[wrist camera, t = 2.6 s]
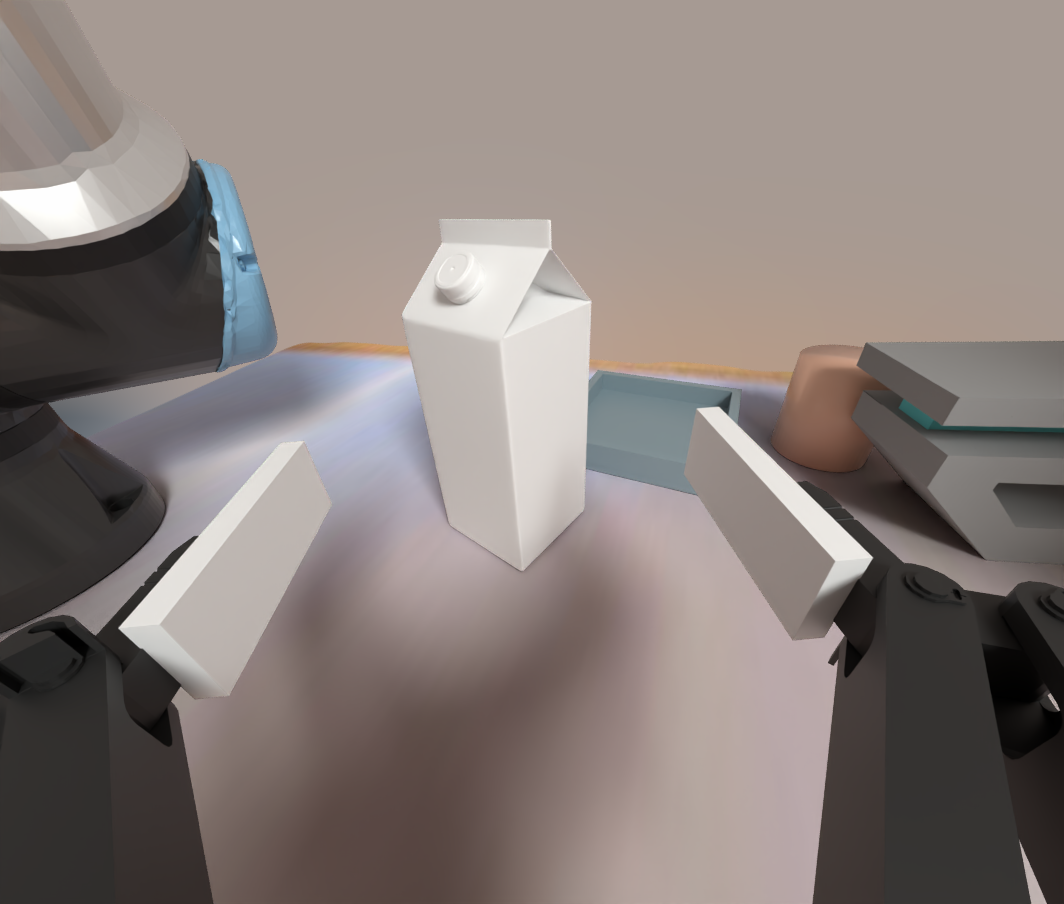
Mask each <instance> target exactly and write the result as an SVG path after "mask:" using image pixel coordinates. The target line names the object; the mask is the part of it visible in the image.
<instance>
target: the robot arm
mask: <svg viewBox="0 0 1064 904" xmlns="http://www.w3.org/2000/svg"><path fill="white" fill-rule="evenodd" d="M276 344H277V331H276V326H275V322H274V317H273V313H272V309H271V306H270V302H269V298H268V295H267V291H266V288H265V284H264V281H263V277H262V274H261V271H260V268H259V266H258V263H257V257H256V254H255V250H254V247H253V243H252V239H251V235H250V232H249V229H248V225H247V222H246V218H245V215H244V212H243V209H242V206H241V203H240V199H239V197H238V193H237V190H236V188H235V185H234V182H233V179H232V177H231V175H230V173H229V172H228V170H227V169H226V168H224V167H223V166H221V165H218V164H214V163H208V162H207V161H203V159H201V160H200V159H199V160H196V161H192V160H191V157H190V156H189V153H188V151H187V149H186V147H185V145H184V143H183V141H182V139H181V138H180V137H179V135H178V134H177V132H176V131H175V129H174V128H173V127H172V126H171V124H170V123H169V122H168V121H167V120H166V119H165V118H164V117H163V116H162V115H160V114H159V113H158V112H156V111H155V110H154V109H152V108H151V107H149V106H148V105H146V104H145V103H143V102H142V101H140V100H138V99H136V98H134V97H132V96H131V95H129V94H127V93H125V92H124V91H122V90H120V89H118V88H116V87H114V86H113V84H112V83H111V81H110V79H109V77H108V76H107V74H106V72H105V70H104V68H103V67H102V65H101V63H100V61H99V60H98V58H97V56H96V54H95V53H94V51H93V49H92V47H91V45H90V44H89V42H88V40H87V39H86V37H85V35H84V33H83V31H82V30H81V28H80V26H79V24H78V22H77V21H76V19H75V17H74V15H73V14H72V12H71V10H70V8H69V7H68V5H67V3H66V1H65V0H0V633H1V632H4V631H6V630H8V629H11V628H13V627H15V626H18V625H20V624H22V623H24V622H26V621H28V620H30V619H33V618H35V617H37V616H39V615H41V614H43V613H45V612H47V611H48V610H50V609H52V608H54V607H56V606H58V605H60V604H61V603H63V602H65V601H67V600H69V599H70V598H72V597H74V596H75V595H77V594H79V593H80V592H82V591H84V590H85V589H87V588H88V587H90V586H92V585H93V584H95V583H96V582H98V581H99V580H101V579H102V578H103V577H105V576H106V575H108V574H109V573H110V572H112V571H113V570H114V569H116V568H117V567H118V566H120V565H121V564H122V563H123V562H125V561H126V560H127V559H128V558H129V557H131V556H132V555H133V554H134V553H135V552H136V551H137V550H138V549H139V548H140V547H141V546H142V545H143V544H144V543H145V542H146V541H147V540H148V539H149V538H150V537H151V535H152V534H153V533H154V531H155V530H156V529H157V527H158V526H159V524H160V522H161V520H162V518H163V515H164V511H165V504H164V501H163V499H162V497H161V496H160V495H159V493H158V492H157V491H156V489H155V488H154V487H153V485H152V484H151V483H150V481H149V480H148V479H147V478H146V477H145V476H144V475H142V474H141V473H140V472H138V471H136V470H135V469H133V468H132V467H130V466H128V465H127V464H125V463H124V462H122V461H121V460H119V459H117V458H116V457H114V456H113V455H111V454H110V453H108V452H106V451H105V450H103V449H102V448H100V447H99V446H97V445H95V444H94V443H92V442H91V441H89V440H88V439H86V438H84V437H83V436H81V435H80V434H78V433H77V432H75V431H73V430H72V429H70V428H69V427H68V426H67V425H66V424H65V423H64V422H63V421H62V419H61V418H60V417H59V416H58V415H57V414H56V412H55V411H54V410H53V409H52V407H51V406H50V405H49V404H48V403H49V402H55V401H59V400H64V399H70V398H75V397H81V396H86V395H91V394H97V393H102V392H108V391H113V390H118V389H124V388H129V387H135V386H140V385H145V384H151V383H156V382H162V381H167V380H173V379H178V378H184V377H189V376H194V375H200V374H205V373H210V372H222V371H224V370H226V369H227V368H228V367H231V366H235V365H239V364H243V363H247V362H251V361H255V360H258V359H262V358H264V357H266V356H268V355H269V354H270V353H272V351H273V350H274V348H275V347H276ZM684 475H685V477H686V478H687V480H688V481H689V483H690V484H691V486H692V487H693V489H694V490H695V492H696V493H697V495H698V496H699V498H700V499H701V501H702V503H703V504H704V506H705V507H706V509H707V510H708V512H709V513H710V515H711V516H712V518H713V519H714V521H715V522H716V524H717V525H718V527H719V529H720V530H721V532H722V533H723V535H724V536H725V538H726V539H727V541H728V542H729V544H730V545H731V547H732V548H733V550H734V551H735V553H736V555H737V556H738V558H739V559H740V561H741V562H742V564H743V565H744V567H745V568H746V570H747V571H748V573H749V574H750V576H751V577H752V579H753V581H754V582H755V584H756V585H757V587H758V588H759V590H760V591H761V593H762V594H763V596H764V597H765V599H766V600H767V602H768V603H769V605H770V607H771V608H772V610H773V611H774V613H775V614H776V616H777V617H778V619H779V620H780V622H781V623H782V625H783V626H784V628H785V629H786V631H787V633H788V634H789V636H790V637H791V639H792V640H803V639H813V638H823V637H825V635H826V634H827V632H828V631H829V629H830V627H831V626H832V624H833V622H835V623H836V625H837V626H838V627H839V629H840V630H841V631H842V632H843V634H844V635H845V636H844V637H843V639H842V640H841V642H840V644H839V645H838V647H837V648H836V650H835V651H834V653H833V654H832V656H831V658H830V660H829V662H828V663H829V664H831V665H833V666H834V664H835V663H836V661H837V660H838V667H837V677H836V686H835V696H834V705H833V715H832V724H831V734H830V743H829V753H828V762H827V772H826V781H825V791H824V800H823V810H822V819H821V829H820V838H819V848H818V857H817V867H816V876H815V886H814V895H813V904H1031V900H1030V895H1029V890H1028V885H1027V879H1026V874H1025V869H1024V864H1023V858H1022V853H1021V848H1020V843H1019V840H1020V842H1021V845H1022V847H1023V849H1024V852H1025V854H1026V856H1027V859H1028V861H1029V863H1030V865H1031V868H1032V870H1033V872H1034V875H1035V877H1036V879H1037V882H1038V884H1039V886H1040V889H1041V891H1042V893H1043V895H1044V898H1045V900H1046V902H1047V904H1064V588H1060V587H1057V586H1053V585H1050V584H1047V583H1040V582H1031V581H1028V582H1024V583H1020V584H1018V585H1017V586H1016V587H1015V588H1014V589H1013V590H1012V591H1011V592H1010V593H1009V594H1008V595H1007V596H1006V597H1005V596H999V595H993V594H986V593H980V592H974V591H968V590H964V589H963V588H962V587H961V586H960V585H959V584H958V583H956V582H955V581H953V580H951V579H950V578H948V577H947V576H945V575H944V574H942V573H939V572H937V571H935V570H932V569H930V568H928V567H924V566H920V565H916V564H912V563H903V562H902V561H901V560H900V559H899V558H898V557H897V556H896V555H894V554H893V553H892V552H891V551H890V550H889V549H888V548H887V547H886V546H885V545H884V544H882V543H881V542H880V541H879V540H878V539H877V538H876V537H875V536H874V535H873V534H872V533H870V532H869V531H868V530H867V529H866V528H865V527H864V526H863V525H862V524H861V523H860V522H858V521H857V520H854V517H853V516H852V515H851V514H850V513H849V512H848V511H846V510H845V509H842V508H841V505H840V504H839V503H838V502H837V501H836V500H834V499H833V498H832V497H831V496H830V495H829V494H828V493H827V492H825V491H823V490H822V489H820V488H818V487H816V486H814V485H813V484H811V483H809V482H807V481H803V482H795V481H794V480H793V479H792V478H791V477H790V476H789V475H788V474H787V473H786V472H785V471H784V470H783V469H782V468H781V467H780V466H779V465H778V464H777V463H776V462H775V461H774V460H773V459H772V458H771V457H770V456H769V455H768V454H767V453H766V452H765V451H764V450H763V449H761V448H760V447H759V446H758V445H757V444H756V443H755V442H754V441H753V440H752V439H751V438H750V437H749V436H748V435H747V434H746V433H745V432H744V431H743V430H742V429H741V428H740V427H739V426H738V425H737V424H736V423H735V422H734V421H733V420H732V419H731V418H730V417H729V416H728V415H727V414H726V413H725V412H724V411H723V410H722V409H721V408H720V407H709V408H697V409H696V414H695V419H694V424H693V429H692V434H691V439H690V444H689V450H688V455H687V460H686V465H685V470H684ZM331 506H332V503H331V501H330V498H329V496H328V494H327V492H326V489H325V487H324V485H323V483H322V480H321V478H320V476H319V473H318V471H317V469H316V467H315V464H314V462H313V460H312V458H311V455H310V453H309V451H308V448H307V446H306V444H305V442H304V441H297V442H285V443H280V444H279V445H278V446H277V448H276V449H275V450H274V451H273V452H272V453H271V454H270V456H269V457H268V458H267V459H266V460H265V461H264V462H263V464H262V465H261V466H260V467H259V468H258V469H257V470H256V472H255V473H254V474H253V475H252V476H251V477H250V478H249V480H248V481H247V482H246V483H245V484H244V485H243V486H242V488H241V489H240V490H239V491H238V492H237V493H236V494H235V496H234V497H233V498H232V499H231V500H230V501H229V502H228V504H227V505H226V506H225V507H224V508H223V509H222V510H221V512H220V513H219V514H218V515H217V516H216V517H215V518H214V520H213V521H212V522H211V523H210V524H209V525H208V526H207V528H206V529H205V530H204V531H203V532H202V533H201V534H200V536H194V537H192V538H191V539H189V540H188V541H187V542H185V543H184V544H182V545H181V546H180V547H178V548H177V549H176V550H174V551H173V552H172V553H171V554H170V555H169V556H168V557H167V558H166V559H165V561H164V562H163V563H162V564H161V565H160V566H159V567H158V568H157V569H158V570H157V572H154V573H153V574H152V575H151V576H150V577H149V578H148V579H147V580H146V581H145V582H144V583H145V585H144V586H141V587H140V588H139V589H138V590H137V591H136V592H135V593H134V595H133V596H132V597H131V598H130V599H129V600H128V601H127V602H126V603H125V604H124V605H123V607H122V608H121V609H120V610H119V611H118V612H117V613H116V614H115V615H114V616H113V618H112V619H111V620H110V621H109V622H108V623H107V624H106V625H105V626H104V627H103V629H102V630H101V631H100V632H99V633H98V634H97V635H96V636H95V635H93V634H92V633H91V632H90V631H89V630H88V629H86V628H85V627H84V626H83V625H82V624H81V623H80V622H78V621H77V620H76V619H75V618H74V617H70V616H65V615H61V616H55V617H50V618H46V619H44V620H41V621H38V622H36V623H33V624H31V625H29V626H27V627H25V628H23V629H21V630H19V631H18V632H16V633H14V634H12V635H10V636H9V637H7V638H6V639H5V640H3V641H2V642H1V643H0V904H213V899H212V893H211V888H210V882H209V877H208V871H207V866H206V861H205V855H204V850H203V844H202V839H201V833H200V828H199V822H198V817H197V811H196V806H195V800H194V795H193V789H192V784H191V779H190V773H189V768H188V762H187V757H186V751H185V746H184V740H183V735H182V729H181V724H180V718H179V713H178V710H177V708H176V707H175V705H174V704H173V703H172V702H171V700H172V699H173V697H174V696H175V694H176V693H177V691H178V689H179V688H180V686H181V687H182V688H183V689H184V690H185V691H186V692H188V693H189V694H190V695H191V696H192V697H193V698H194V699H204V698H214V697H224V696H229V695H230V693H231V692H232V690H233V688H234V686H235V684H236V682H237V680H238V679H239V677H240V675H241V673H242V671H243V669H244V667H245V666H246V664H247V662H248V660H249V658H250V656H251V654H252V653H253V651H254V649H255V647H256V645H257V643H258V641H259V640H260V638H261V636H262V634H263V632H264V630H265V628H266V627H267V625H268V623H269V621H270V619H271V617H272V615H273V614H274V612H275V610H276V608H277V606H278V604H279V602H280V601H281V599H282V597H283V595H284V593H285V591H286V589H287V587H288V586H289V584H290V582H291V580H292V578H293V576H294V574H295V573H296V571H297V569H298V567H299V565H300V563H301V561H302V560H303V558H304V556H305V554H306V552H307V550H308V548H309V547H310V545H311V543H312V541H313V539H314V537H315V535H316V534H317V532H318V530H319V528H320V526H321V524H322V522H323V521H324V519H325V517H326V515H327V513H328V511H329V509H330V508H331ZM1050 693H1051V694H1052V696H1053V698H1054V699H1055V701H1056V702H1057V704H1058V707H1059V709H1060V711H1058V710H1057V709H1056V708H1055V706H1054V705H1053V704H1052V702H1051V700H1050V699H1049V697H1048V694H1050Z"/></svg>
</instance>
